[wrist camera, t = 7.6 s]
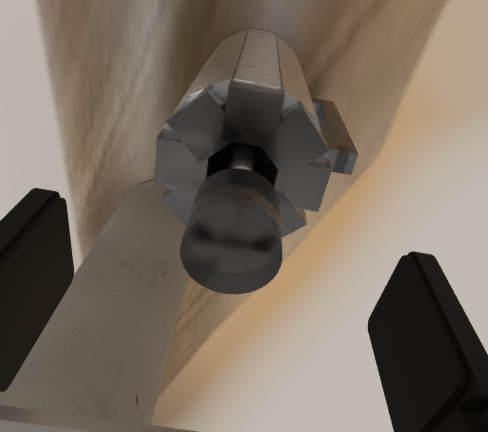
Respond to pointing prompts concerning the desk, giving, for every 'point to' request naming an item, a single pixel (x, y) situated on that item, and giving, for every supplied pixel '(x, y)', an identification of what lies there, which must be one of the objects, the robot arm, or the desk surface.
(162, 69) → the desk surface
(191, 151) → the press pot
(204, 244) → the plunger
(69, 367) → the thermos bottle
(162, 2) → the desk surface
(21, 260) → the robot arm
